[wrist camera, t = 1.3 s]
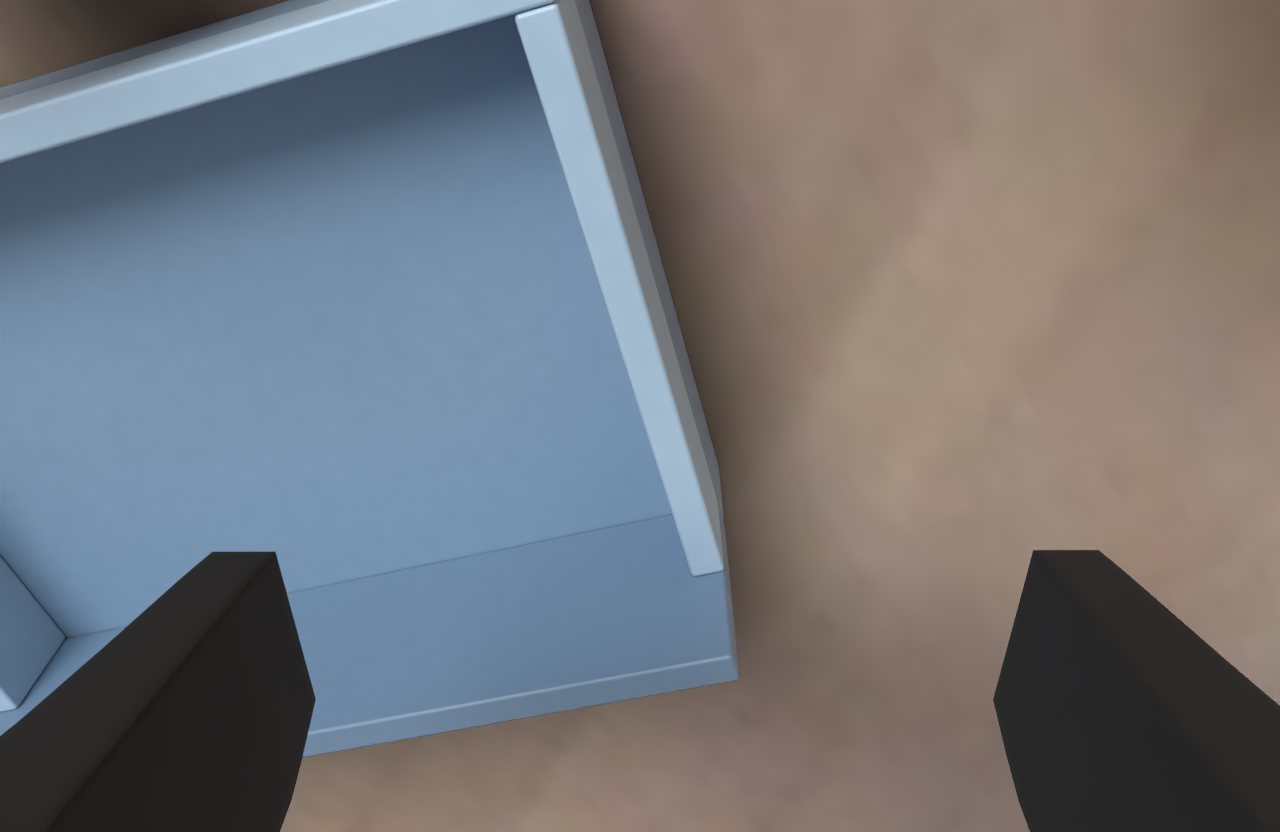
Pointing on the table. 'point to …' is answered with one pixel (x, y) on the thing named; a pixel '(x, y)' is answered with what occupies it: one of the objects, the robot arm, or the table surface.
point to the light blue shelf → (355, 364)
